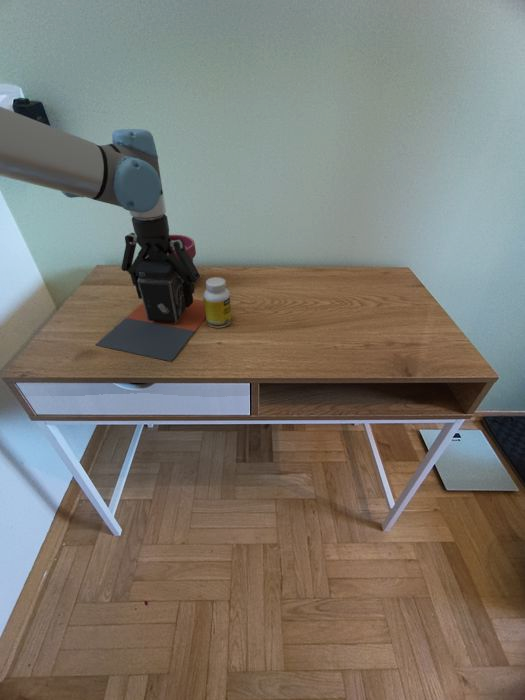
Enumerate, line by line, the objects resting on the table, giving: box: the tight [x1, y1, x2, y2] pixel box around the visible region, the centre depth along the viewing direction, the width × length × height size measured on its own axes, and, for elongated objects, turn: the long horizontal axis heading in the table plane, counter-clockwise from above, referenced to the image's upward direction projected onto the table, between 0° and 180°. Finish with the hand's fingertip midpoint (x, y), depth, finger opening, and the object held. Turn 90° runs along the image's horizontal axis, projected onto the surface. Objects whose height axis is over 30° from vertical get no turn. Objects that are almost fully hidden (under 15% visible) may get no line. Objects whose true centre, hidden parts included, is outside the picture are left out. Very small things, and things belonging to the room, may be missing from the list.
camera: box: [135, 257, 186, 324], centre depth 81 cm, size 10×10×15 cm
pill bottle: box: [203, 276, 232, 329], centre depth 80 cm, size 6×6×12 cm
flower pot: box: [147, 234, 197, 282], centre depth 96 cm, size 14×14×13 cm
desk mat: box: [95, 298, 206, 363], centre depth 83 cm, size 20×26×1 cm
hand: (165, 300), depth 83 cm, fingers open, 13 cm apart
